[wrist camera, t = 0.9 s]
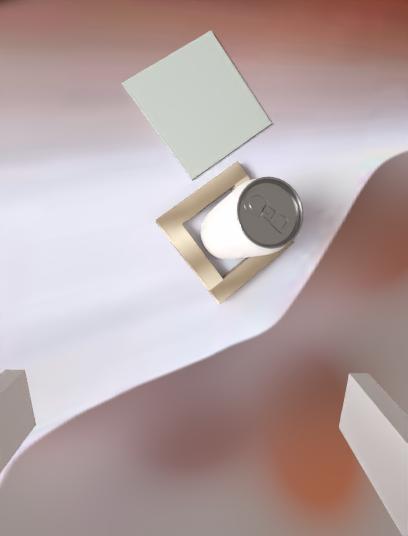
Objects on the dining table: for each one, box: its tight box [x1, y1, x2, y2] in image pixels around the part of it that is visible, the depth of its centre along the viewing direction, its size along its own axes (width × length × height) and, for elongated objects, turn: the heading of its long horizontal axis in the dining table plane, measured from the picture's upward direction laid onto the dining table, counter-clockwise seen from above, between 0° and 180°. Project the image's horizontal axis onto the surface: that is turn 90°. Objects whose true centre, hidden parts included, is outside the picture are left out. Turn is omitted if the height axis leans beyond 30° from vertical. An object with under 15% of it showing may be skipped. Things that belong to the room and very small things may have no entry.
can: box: [201, 177, 303, 259], centre depth 26 cm, size 6×6×12 cm
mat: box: [122, 31, 271, 180], centre depth 31 cm, size 13×13×1 cm
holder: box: [156, 161, 294, 304], centre depth 31 cm, size 12×12×2 cm
